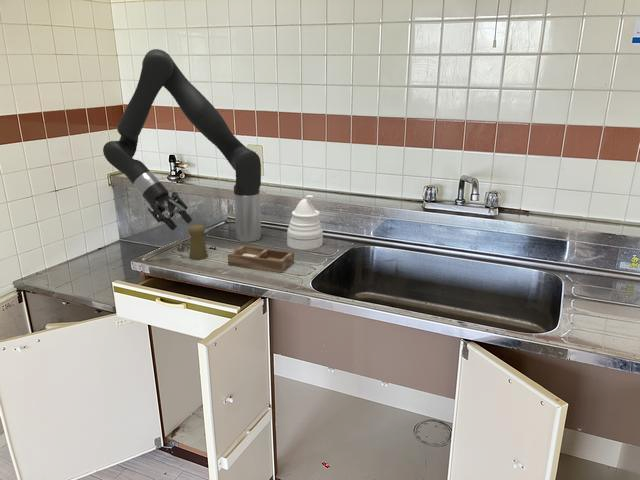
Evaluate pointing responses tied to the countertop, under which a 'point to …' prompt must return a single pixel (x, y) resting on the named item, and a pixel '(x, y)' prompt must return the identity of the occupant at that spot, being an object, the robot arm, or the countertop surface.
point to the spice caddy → (261, 258)
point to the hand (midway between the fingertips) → (182, 225)
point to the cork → (197, 243)
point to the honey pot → (305, 227)
